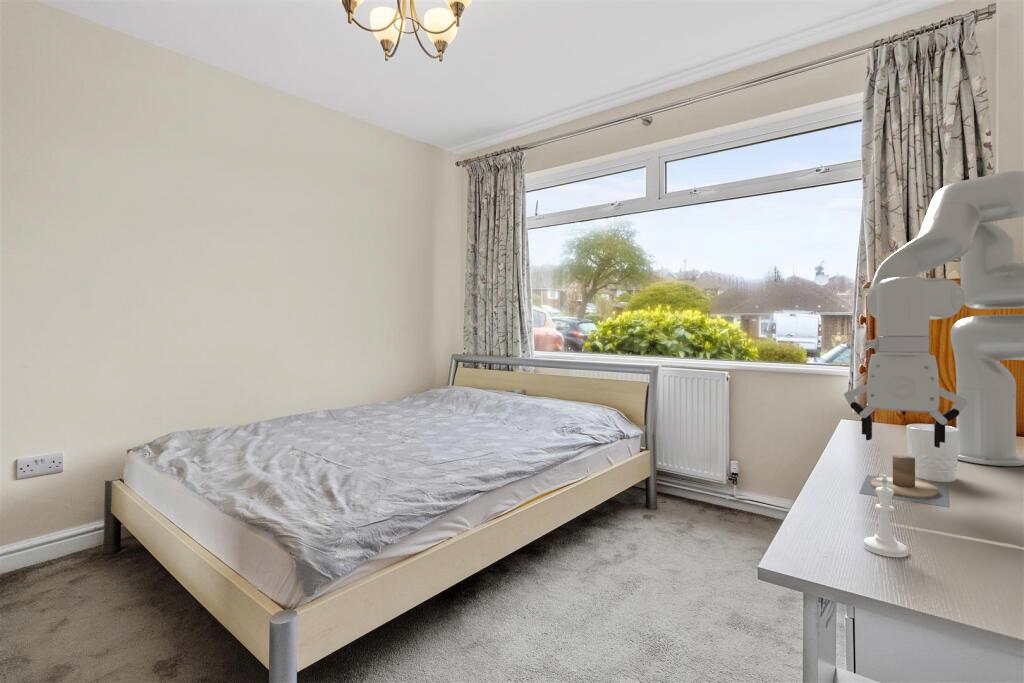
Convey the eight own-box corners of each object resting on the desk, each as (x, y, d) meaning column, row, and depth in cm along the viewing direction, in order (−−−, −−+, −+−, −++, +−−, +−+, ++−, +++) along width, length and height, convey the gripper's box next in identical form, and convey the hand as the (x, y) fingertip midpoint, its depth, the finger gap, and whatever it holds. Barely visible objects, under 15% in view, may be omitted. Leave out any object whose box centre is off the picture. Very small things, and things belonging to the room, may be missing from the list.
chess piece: (864, 538, 71) (863, 468, 71) (909, 547, 68) (908, 473, 68) (860, 551, 67) (860, 476, 67) (907, 561, 64) (907, 482, 64)
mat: (866, 476, 100) (866, 474, 100) (946, 487, 92) (946, 485, 92) (859, 495, 89) (859, 493, 89) (949, 509, 81) (949, 507, 81)
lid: (873, 478, 97) (873, 448, 97) (938, 487, 91) (938, 455, 91) (868, 491, 90) (868, 458, 90) (939, 502, 84) (939, 467, 84)
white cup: (898, 476, 100) (897, 426, 100) (920, 471, 103) (920, 422, 103) (945, 487, 93) (945, 432, 93) (968, 480, 96) (968, 428, 96)
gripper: (842, 346, 93) (841, 439, 93) (968, 347, 82) (968, 453, 82) (847, 346, 98) (846, 433, 98) (966, 347, 87) (965, 445, 87)
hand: (901, 442), depth 90 cm, fingers open, 9 cm apart
